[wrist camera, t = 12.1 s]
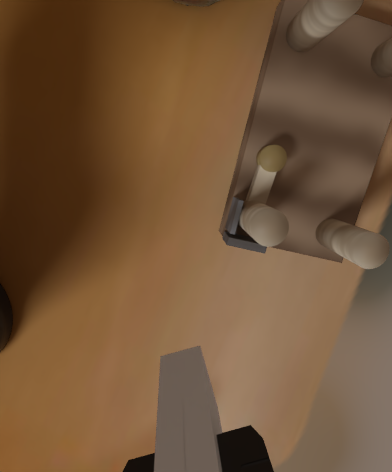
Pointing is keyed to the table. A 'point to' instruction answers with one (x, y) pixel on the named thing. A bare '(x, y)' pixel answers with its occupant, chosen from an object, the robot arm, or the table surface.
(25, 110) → the table surface
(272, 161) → the hinged leg
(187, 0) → the bread roll
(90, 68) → the table surface
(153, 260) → the table surface
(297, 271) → the table surface
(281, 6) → the peg board
